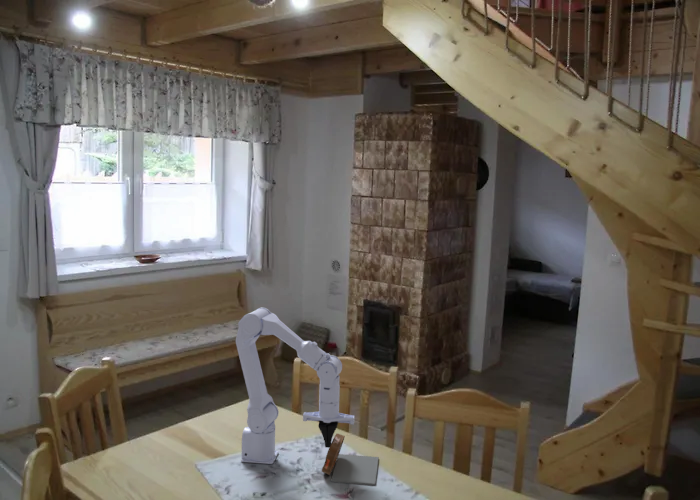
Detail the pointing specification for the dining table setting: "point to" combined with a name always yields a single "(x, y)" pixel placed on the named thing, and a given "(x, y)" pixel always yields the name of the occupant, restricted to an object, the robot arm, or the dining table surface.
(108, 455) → the dining table surface
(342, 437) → the tin
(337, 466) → the mat
